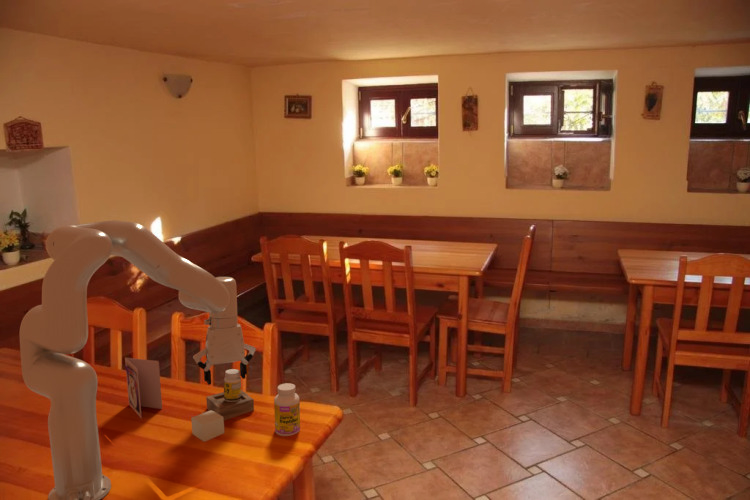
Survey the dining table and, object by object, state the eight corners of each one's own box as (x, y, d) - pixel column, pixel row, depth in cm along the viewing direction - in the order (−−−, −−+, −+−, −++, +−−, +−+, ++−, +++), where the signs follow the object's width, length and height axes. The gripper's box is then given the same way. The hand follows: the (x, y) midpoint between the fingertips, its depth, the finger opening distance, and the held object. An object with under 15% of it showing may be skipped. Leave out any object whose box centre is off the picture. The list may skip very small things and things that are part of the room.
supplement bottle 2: (276, 439, 155) (274, 393, 152) (274, 428, 161) (272, 383, 159) (302, 436, 156) (300, 390, 154) (298, 424, 163) (297, 380, 160)
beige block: (224, 434, 158) (223, 416, 157) (204, 442, 154) (202, 424, 153) (212, 427, 162) (211, 410, 161) (192, 434, 158) (191, 417, 157)
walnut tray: (254, 415, 170) (253, 399, 169) (220, 425, 164) (219, 408, 163) (239, 403, 178) (238, 388, 177) (207, 412, 172) (206, 396, 171)
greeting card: (126, 406, 175) (121, 358, 172) (151, 399, 180) (147, 352, 177) (138, 420, 166) (134, 369, 164) (164, 412, 171) (161, 363, 168)
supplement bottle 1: (221, 398, 171) (221, 370, 170) (236, 395, 174) (237, 367, 173) (227, 403, 167) (227, 375, 166) (243, 400, 170) (243, 372, 169)
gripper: (194, 329, 158) (197, 390, 161) (258, 320, 166) (259, 379, 169) (189, 322, 165) (192, 381, 167) (250, 314, 173) (252, 371, 175)
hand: (226, 380), depth 168 cm, fingers open, 9 cm apart
